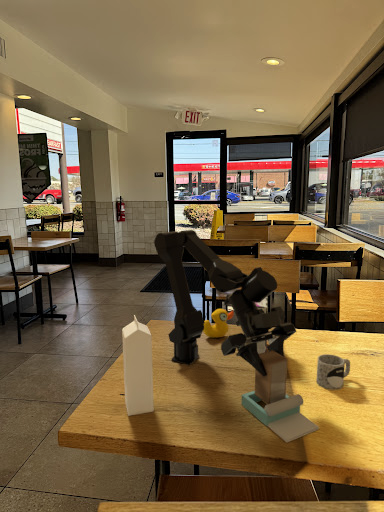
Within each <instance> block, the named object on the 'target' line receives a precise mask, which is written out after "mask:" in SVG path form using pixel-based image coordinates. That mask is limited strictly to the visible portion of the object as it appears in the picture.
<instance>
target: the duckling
mask: <svg viewBox="0 0 384 512" xmlns="http://www.w3.org/2000/svg"><path fill="white" fill-rule="evenodd" d="M234 314H235V312H234V310H231V311H230V312H228V311H227V310H226V309H224V308H217V309H215V310H214V311H213V312H212V313H211V314H210V316H211V317H210V318H211V319H212V320H213V322H214V324H213V325H212V324H211V322H210V320H208V319H205V320H204V322H205V323H204V330H203V332H202V333H203V334H204V335H205V336H206V337H209V338H213V339H217V338H222V337H224V336H225V335H226V334H227V333H228V331H229V330H230V329H229V324H228V323H227V320H228V321H229V320H231V319H233V317H234Z"/></svg>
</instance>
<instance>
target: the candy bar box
mask: <svg viewBox="0 0 384 512" xmlns="http://www.w3.org/2000/svg"><path fill="white" fill-rule="evenodd" d="M268 298H269V297H268V296H267V297H266V298H265V299H264V300H262V301H261V302H259V303H257V302H255V303H256V305H257V307H258V309H262V310H263V311H264V313H269V312H268V309H269V307H268V306H269V301H268ZM261 338H262V337H261ZM253 340H254V339H253ZM267 343H268V340H266V341H262V342H258V343H257V352H258V354H261V353H265V352H268V351H267V350H268V348H267V346H268V344H267Z"/></svg>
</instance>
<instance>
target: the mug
mask: <svg viewBox="0 0 384 512" xmlns="http://www.w3.org/2000/svg"><path fill="white" fill-rule="evenodd" d="M350 372H351V360H349V359H348V358H342V357H340V356H338V355H336V354H335V355H334V354H325V353H324V354H320V355H319V356H318V357H317V366H316V384H317V385H318V386H319V387H321V388H323V389H326V390H330V391H337V390H341V389H343V387H344V378H346V377H348V375H350Z"/></svg>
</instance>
